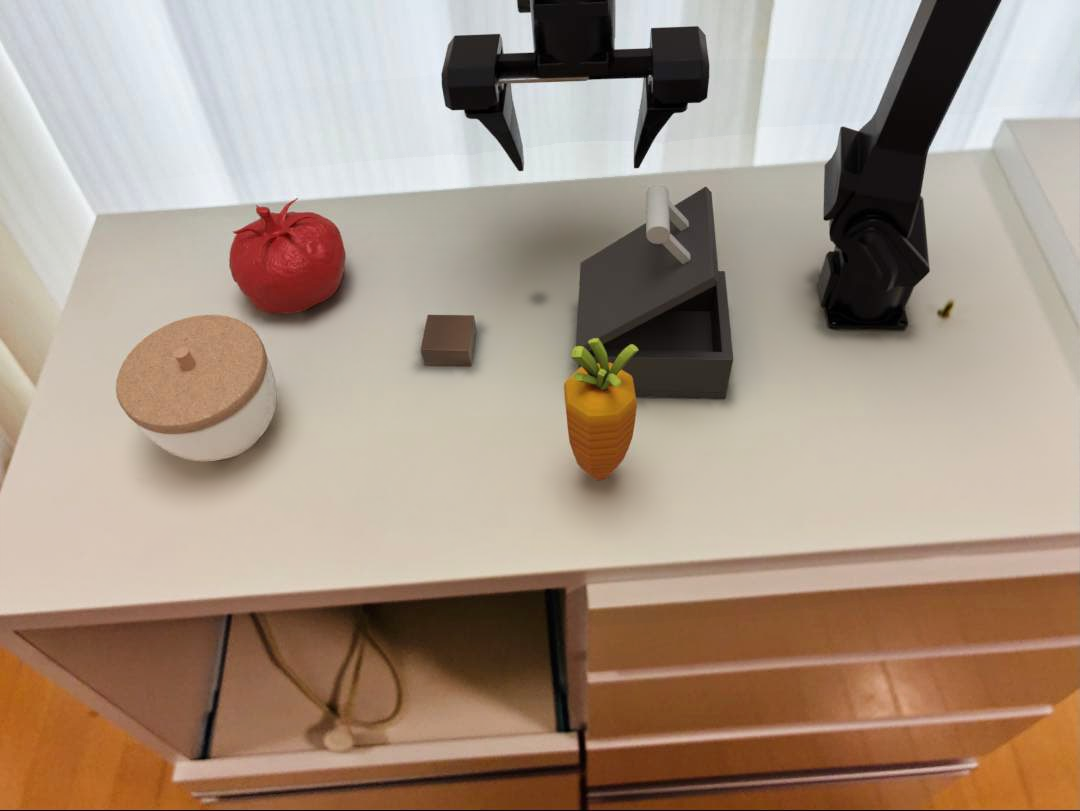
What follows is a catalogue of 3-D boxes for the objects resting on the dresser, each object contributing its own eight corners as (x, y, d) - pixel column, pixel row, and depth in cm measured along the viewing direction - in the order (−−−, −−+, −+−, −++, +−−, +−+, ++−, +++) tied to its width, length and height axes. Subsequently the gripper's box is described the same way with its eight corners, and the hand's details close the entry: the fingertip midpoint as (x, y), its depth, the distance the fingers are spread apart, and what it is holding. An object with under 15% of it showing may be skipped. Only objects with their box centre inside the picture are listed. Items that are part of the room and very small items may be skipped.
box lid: (712, 192, 61) (672, 148, 59) (720, 283, 56) (676, 239, 53) (586, 267, 68) (546, 231, 66) (581, 355, 63) (537, 320, 60)
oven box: (718, 311, 71) (725, 270, 67) (725, 399, 66) (733, 359, 62) (584, 309, 72) (583, 269, 68) (579, 395, 67) (578, 357, 63)
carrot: (639, 458, 63) (651, 323, 51) (622, 513, 60) (629, 384, 48) (577, 443, 64) (573, 307, 52) (557, 496, 61) (548, 365, 49)
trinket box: (294, 367, 70) (258, 288, 62) (293, 472, 63) (253, 397, 56) (166, 388, 69) (115, 310, 62) (152, 496, 63) (92, 424, 55)
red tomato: (359, 314, 73) (333, 233, 66) (246, 337, 72) (207, 258, 65) (348, 242, 79) (323, 160, 72) (244, 263, 78) (207, 182, 71)
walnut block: (476, 330, 71) (474, 315, 70) (471, 366, 69) (468, 350, 67) (431, 330, 72) (427, 314, 70) (424, 365, 69) (420, 349, 68)
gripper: (707, -94, 58) (690, 105, 70) (444, -81, 59) (473, 111, 72) (720, -17, 51) (698, 188, 63) (423, -5, 53) (459, 193, 65)
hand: (578, 166), depth 66 cm, fingers open, 9 cm apart
